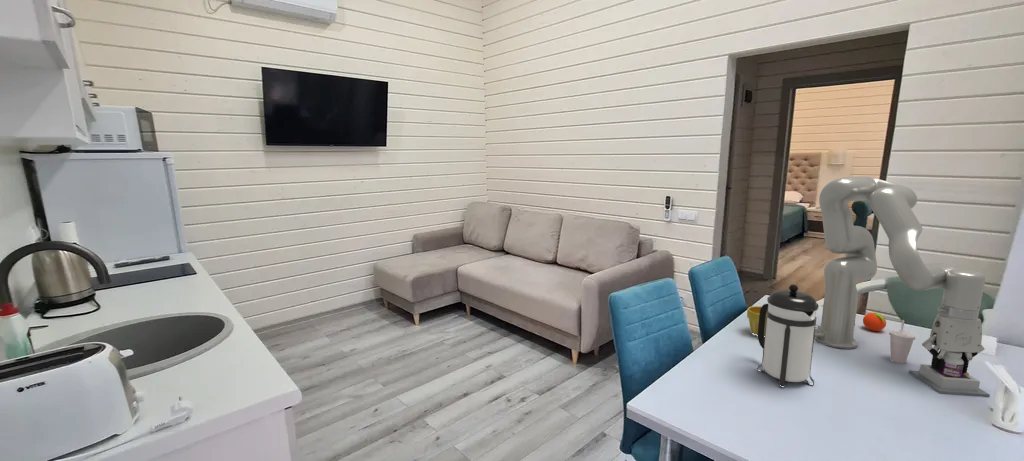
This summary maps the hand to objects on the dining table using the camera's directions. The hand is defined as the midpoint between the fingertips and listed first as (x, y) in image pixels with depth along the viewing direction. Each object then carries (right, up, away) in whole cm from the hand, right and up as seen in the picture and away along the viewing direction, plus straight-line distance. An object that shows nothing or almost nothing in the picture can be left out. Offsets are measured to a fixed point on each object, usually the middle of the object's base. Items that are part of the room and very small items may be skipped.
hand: (948, 369), depth 124 cm
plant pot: (-34, +1, +37) cm, 50 cm away
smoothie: (-1, -2, +15) cm, 15 cm away
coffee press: (-45, -5, +7) cm, 46 cm away
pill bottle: (0, -4, +1) cm, 4 cm away
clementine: (+11, +2, +39) cm, 40 cm away
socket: (0, -5, +1) cm, 5 cm away
